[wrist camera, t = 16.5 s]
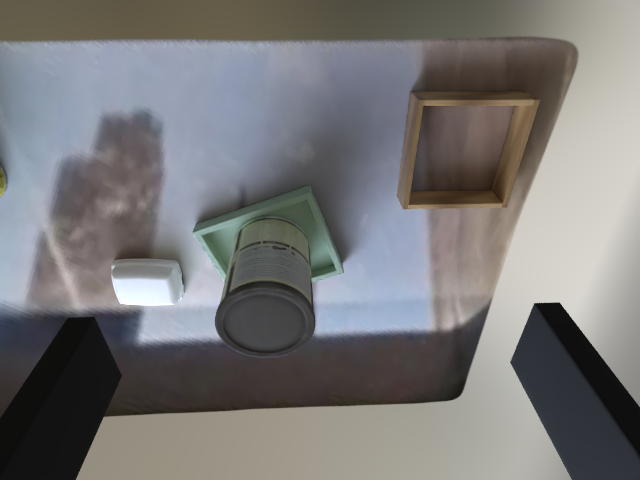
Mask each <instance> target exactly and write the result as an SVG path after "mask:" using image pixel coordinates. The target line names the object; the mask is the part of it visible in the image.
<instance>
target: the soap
mask: <svg viewBox="0 0 640 480" xmlns="http://www.w3.org/2000/svg"><path fill="white" fill-rule="evenodd" d="M111 267H112V272H111V275H112V282H113V286H114V290H115V293H116V296H117V298H118V300H119V302H120V304H130V305H172V304H176V303H177V302H178V300H180V299H182V297H183V295H184V284H182V279H181V277H182V273H181V268H180V265H179V263H178V262H177V261H174V260H164V259H117V260H115V261H114V262H113V264H112V266H111Z"/></svg>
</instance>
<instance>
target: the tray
mask: <svg viewBox="0 0 640 480" xmlns="http://www.w3.org/2000/svg"><path fill="white" fill-rule="evenodd" d="M265 215H277V216H281V217H286V218H288V219H290V220H292V221H294V222H295V223H297V224H298V225H299V226H301V227H302V228H303V230H304V231H305V232H306V234H307V236H308V238H309V241H310V260H311V279H312V282H315V281H318V280H322V279H325V278H328V277H331V276H335V275H338V274H341V273H344V270H343V264H342V261H341V259H340V257H339V254H338V252H337V249H336V247H335V244H334V242H333V239H332V237H331V235H330V232H329V230H328V227H327V225H326V222H325V220H324V217H323V215H322V213H321V210H320V208H319V205H318V203H317V200H316V198H315V195H314V193H313V191H312V188H311V186H310V185H308V186H305V187H302V188H299V189H296V190H294V191H291V192H288V193H285V194H282V195H279V196H276V197H273V198H270V199H267V200H265V201H262V202H259V203H256V204H253V205H250V206H247V207H244V208H241V209H238V210H236V211H233V212H230V213H227V214H224V215H221V216H218V217H215V218H212V219H210V220H207V221H204V222H201V223H198V224H196V225H195V228H194V230H193V234H194V236H195V237H196V239H197V240H198V242H199V243H200V245H201V246H202V248H203V250H204V251H205V253H206V254H207V256H208V257H209V259H210V260H211V262H212V263H213V265H214V266H215V268H216V270H217V271H218V273H219V274H220V276H221V277H222V279H223V280H224V282H225V279H226V275H227V271H228V266H229V262H230V257H231V253H232V249H233V241H234V237H235V234H236V233H237V231H238V230H239V228H240V227H241V226H242V225H243V224H245V223H246V222H248V221H249V220H251V219H254V218H256V217H260V216H265Z"/></svg>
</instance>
